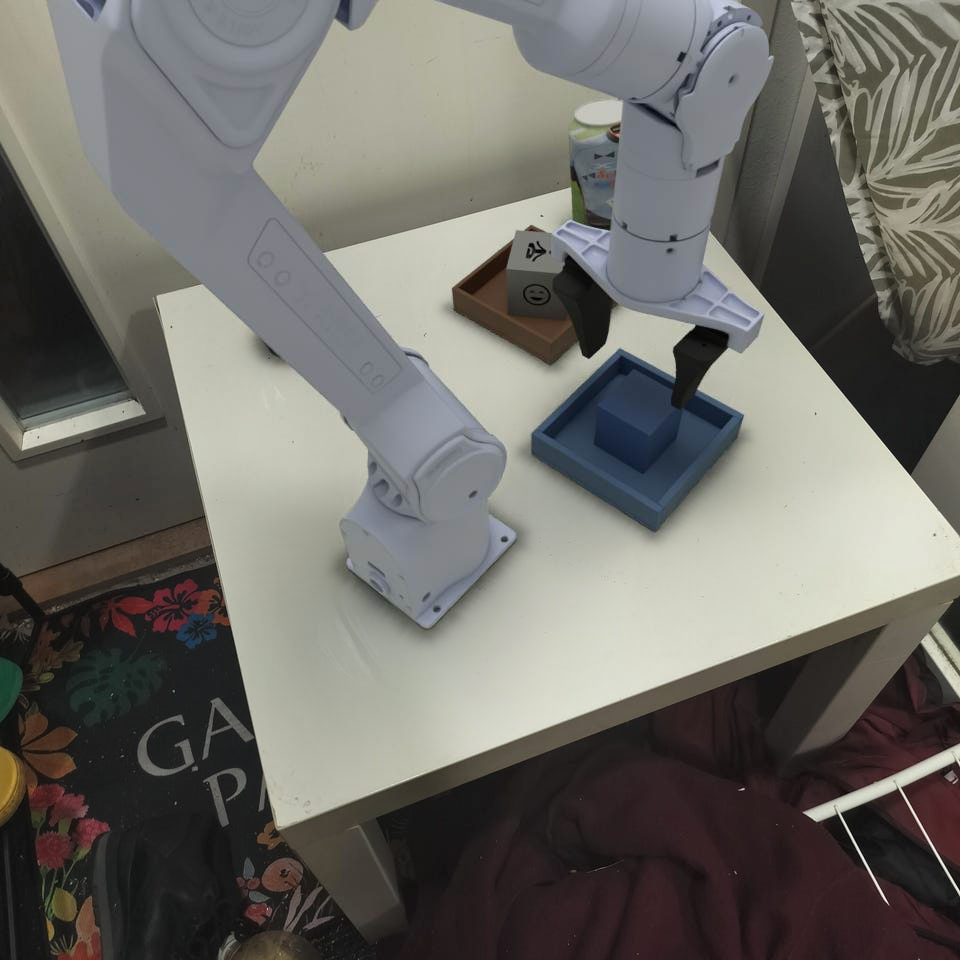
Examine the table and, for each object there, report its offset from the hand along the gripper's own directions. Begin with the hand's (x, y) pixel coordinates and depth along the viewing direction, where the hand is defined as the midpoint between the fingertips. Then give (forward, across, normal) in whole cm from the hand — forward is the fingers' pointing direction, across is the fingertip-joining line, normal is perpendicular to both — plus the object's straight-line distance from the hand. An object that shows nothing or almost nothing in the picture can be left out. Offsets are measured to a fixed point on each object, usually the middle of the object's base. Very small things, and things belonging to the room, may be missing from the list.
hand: (637, 373), depth 60 cm
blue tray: (+6, -1, +1) cm, 7 cm away
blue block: (+6, -1, +1) cm, 6 cm away
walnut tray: (+6, +14, -7) cm, 17 cm away
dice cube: (+6, +14, -7) cm, 17 cm away
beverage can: (+7, +16, -18) cm, 25 cm away
